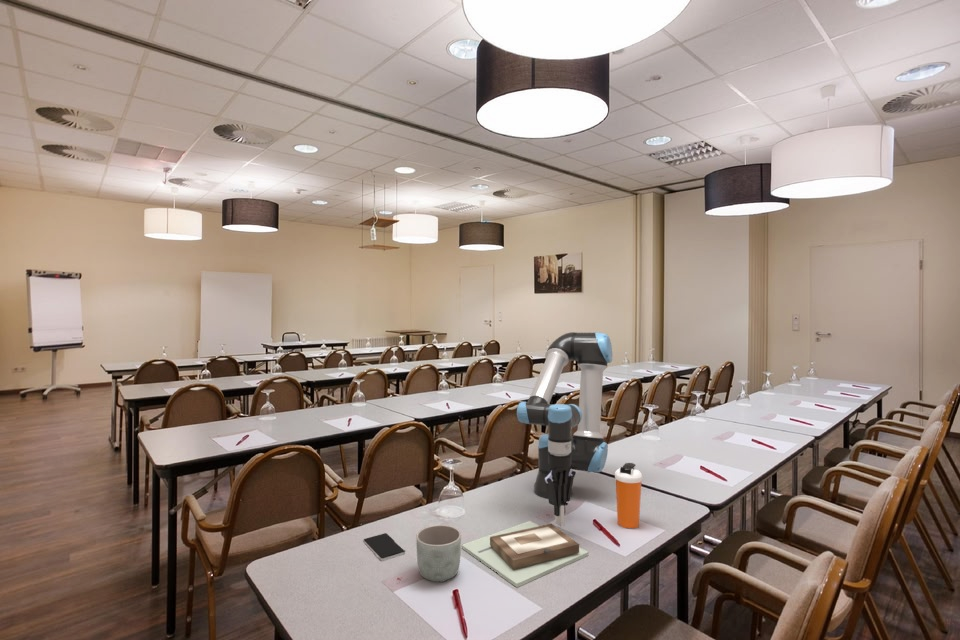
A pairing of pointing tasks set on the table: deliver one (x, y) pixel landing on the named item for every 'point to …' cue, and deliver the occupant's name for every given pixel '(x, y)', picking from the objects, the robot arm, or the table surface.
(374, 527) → the table surface
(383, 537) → the smartphone
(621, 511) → the shaker bottle
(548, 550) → the frame
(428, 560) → the planter
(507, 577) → the wall panel
